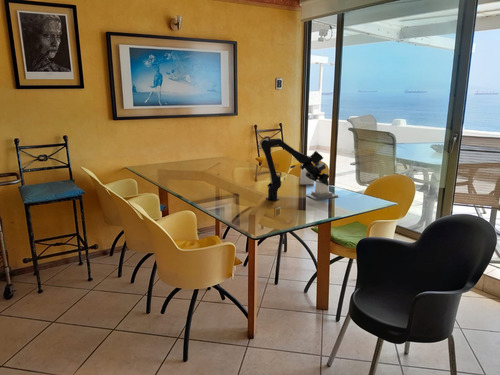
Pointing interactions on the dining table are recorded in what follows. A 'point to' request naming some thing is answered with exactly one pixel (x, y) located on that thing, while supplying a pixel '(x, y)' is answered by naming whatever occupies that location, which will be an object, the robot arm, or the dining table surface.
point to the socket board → (321, 195)
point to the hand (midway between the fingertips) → (324, 183)
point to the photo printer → (305, 178)
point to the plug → (321, 187)
